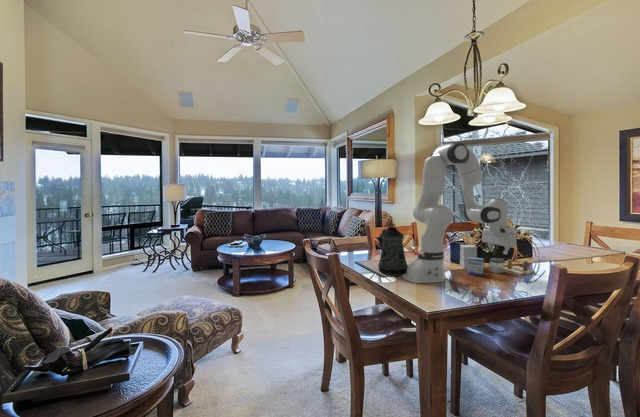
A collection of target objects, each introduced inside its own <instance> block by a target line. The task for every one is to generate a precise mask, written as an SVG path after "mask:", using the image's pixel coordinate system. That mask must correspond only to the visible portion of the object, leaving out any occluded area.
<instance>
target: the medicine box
mask: <svg viewBox="0 0 640 417" xmlns="http://www.w3.org/2000/svg"><path fill="white" fill-rule="evenodd" d="M484 259H485V258H482V257H477V258H473V257H468V260H467V268H466V274H468V275H474V276H475V275H476V276H483V275H484V261H485V260H484Z"/></svg>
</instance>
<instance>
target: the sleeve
mask: <svg viewBox="0 0 640 417" xmlns="http://www.w3.org/2000/svg"><path fill="white" fill-rule="evenodd" d="M488 261H489V271H490V272H493V273H495V274H502V273H504V267H505V263H506V260H505V259H504V258H499V257H492V258H489V259H488Z"/></svg>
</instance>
